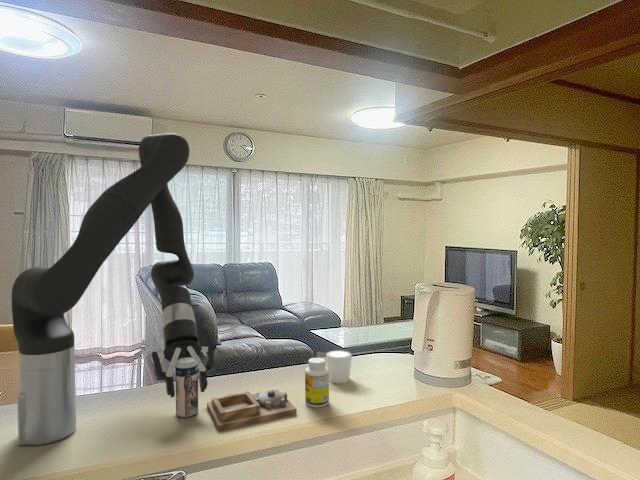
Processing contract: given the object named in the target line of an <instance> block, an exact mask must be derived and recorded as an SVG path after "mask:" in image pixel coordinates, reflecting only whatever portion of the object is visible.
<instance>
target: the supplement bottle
mask: <svg viewBox="0 0 640 480" xmlns="http://www.w3.org/2000/svg"><path fill="white" fill-rule="evenodd" d="M329 397H330V381H329V369H328V368H327V363H326V359H324V358H322V357H311V358H309V359H308V363H307V367H306V368H305V370H304V399H305V400H304V401H305V404H306V405H307V406H309V407H311V408H323V407H325V406H327V405H328V404H329V401H330V398H329Z"/></svg>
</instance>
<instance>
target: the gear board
mask: <svg viewBox="0 0 640 480" xmlns="http://www.w3.org/2000/svg"><path fill="white" fill-rule="evenodd" d="M206 409H207V411H208V412H209V415H210V416H211V418H212V420H213V422H214V424H215V426H216V427H217V430H218V431H219V432H222V431H225V430H229V429H231V430H232V429H234V428H239V427H243V426H248V425H253V424H257V423H262V422H266V421H272V420H276V419H281V418H285V417H289V416H294V415H297V413H298V412H297V408H296V407H295V406H294V404H292V403H291V402H290V400H288V393H287V392H283V391H280V390H278V389H270V390H265V391H259V392H257V393H251V392H250V391H248V390H247V391H243V392H236V393H232V394H227V395H226V394H225V395H220V396H216V397H212V398H211V401H209V402H206Z"/></svg>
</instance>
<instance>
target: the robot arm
mask: <svg viewBox="0 0 640 480" xmlns="http://www.w3.org/2000/svg"><path fill="white" fill-rule="evenodd" d="M138 157H139V162H140V167H138V169H136V170H134V171H133V172H132V173H130V174H127V175H126V176H125V177H123V178H121V179H119V180H118V181H116V182H115V183H114V184H112V185H111V186H108V187H107V188H106V189H105V190H104V191H103V192H102V193H101V194H100V195H99V196H98V198H97V199H95V201H94V202H93V203H92V204H91V205H90V207H89V208H88V209H87V211H86V212H85V213H84V216H83V218H82V221H81V224H80V226H79V227H80V228H79V231H78V234H77V236H76V238H75V240H74V242H73V244H72V245H71V246H70V247H69V248H68V249H67V250H66V252H64V253H63V255H62V256H61V257H60V258H58V260H57V261H56V262H55V263H53V265H51V266H49V267H48V266H34V267H30V268H28V269H25V270H24V271H22V272H21V273H20V274H19V275H17V277H16V278H15V280H14V281H13V285H12V289H11V314H12V329H13V334H14V337H15V340H16V341H17V345H18V365H19V367H18V369H19V371H18V372H19V392H18V394H17V404H16V405H17V433H18V435H17V438H18V446H24V445H30V446H38V445H47V444H51V443H54V442H58V441H60V440H63V439H65V438H68V436H70V435H72V434H73V433H74V432H75V431H76V429H77V408H76V407H77V402H76V401H77V398H76V394H77V393H76V358H75V357H76V356H75V355H76V349H75V333H74V331H73V329H72V328H71V327H70V326H69V324H68V323H67V321H66V319H65V315H64V314H66V313H67V312H69V311H71V310H72V309H73V308H74V307H75V306H76V305H77V304H78V302H79V301H80V300H81V298H82V297H83V295H84V294H85V292H86V290H87V289H88V287H89V286H90V284H91V283H92V281H93V279H94V278H95V276H96V275H97V273H98V272H99V270H100V269H101V266H103V264H104V263H105V261H106V260H107V259H108V258H109V256H110V255H111V254H112V253H113V252H114V250H115V249H116V247H117V246H118V245H119V243H120V242H121V241H122V240H123V239H124V237H125V236H126V235H127V234H128V233H129V232H130V230H131V229H132V228H133V227H134V225H135V224H136V223H137V222H138V220H140V218H141V216H142V215H143V214H144V212H145V211H146V209H147V208H148V207H149V206H150V205H151V211H152V217H153V224H154V225H153V226H154V237H155V238H154V239H155V246H156V247H155V248H156V250H157V251H158V252H160V253H163V254H172V255H175V256H177V258H178V259H173V260H163V261H158V262H156V263H154V264H153V266H152V267H151V271H150V277H151V280H152V283H153V285H154V287H155V288H156V291H157V292H158V295H159V297H160V301H161V311H162V318H161V321H162V331H163V343H164V349H163V351H160V352H157V351H153V352H151V357H150V358H151V359H150V362H151V364H152V368H153V371H154V376H155V379H156V381H163V382H165V388H166V394H167V396H170V398H174V397H175V396H176V389H175V382H174V373H175V364H176V362H177V360H179V359H180V358H185V357H193V358H195V359H196V361H197V362H198V385H199V390H200V393H204V392H206V391H205V390H206V389H207V387H208V384H209V383H208V379H207V378H208V377H207V375H208V374H211V373H212V372H213V368H214V366H215V365H214V363H215V362H214V357H215V356H214V345H213V344H209V345H208V346H202V345H201V344H200V341H199V336H198V331H197V330H198V329H197V324H196V323H197V322H196V317H195V312H194V309H193V306H192V305H193V304H192V298H191V294H190V291H189V290H188V288H186V287H185V286H189V285H190V284H191V283H192V282H193V280H194V278H195V277H194V276H195V271H194V268H193V265H192V264H191V260H190V258H189V256H188V253H187V250H186V243H185V235H184V223H183V218H182V215H181V212H180V209H179V208H178V206H177V204H176V202H175V200H174V199H173V197H172V194H171V191H170V189H169V185H168V184H169V182H171V181H172V180H173V179H174V178H175V176H176V175H178V174H179V173H180V172H181V171H182V169H184V167H185V166H186V165H187V163H188V161H189V158H190V145H189V142H188V141H187V140H186V138H185V137H183V136H182V135H180V134H178V133H172V132H169V133H167V132H166V133H165V132H164V133H157V134H150V135H149V134H148V135H146V136H144V137H143V138H142V139H141V140H140V143H139V146H138ZM201 353H203V356H204V357H206V365H204V364H203V362H202V360H201V358H200V355H201ZM163 358H164V359H165V360H167V362H169V365H168V369H167V371H163V368H162V365H161V363H162V362H163Z"/></svg>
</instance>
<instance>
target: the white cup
mask: <svg viewBox="0 0 640 480" xmlns="http://www.w3.org/2000/svg"><path fill="white" fill-rule="evenodd" d="M325 354H326V355H325V356H326V367H327V368H328V369H329V382H331V383H334V384H346V383H348V382H349V381H350V378H351V377H350V376H351V368H352V367H351V366H352V355H353V354H352V353H351V352H350V351H346V350H331V351H328V352H326V353H325Z"/></svg>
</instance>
